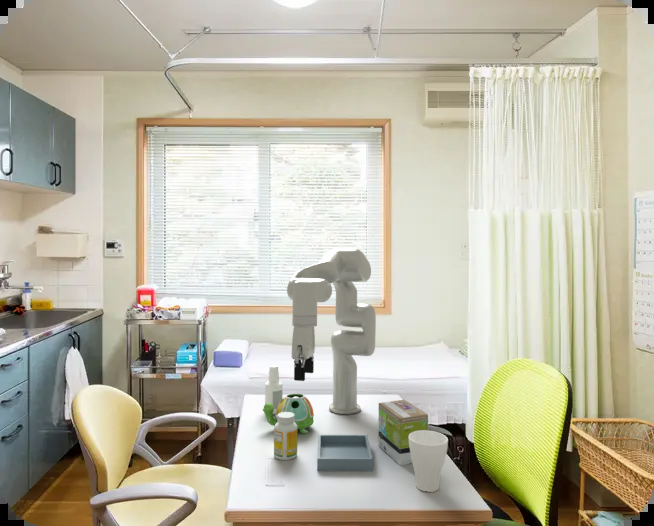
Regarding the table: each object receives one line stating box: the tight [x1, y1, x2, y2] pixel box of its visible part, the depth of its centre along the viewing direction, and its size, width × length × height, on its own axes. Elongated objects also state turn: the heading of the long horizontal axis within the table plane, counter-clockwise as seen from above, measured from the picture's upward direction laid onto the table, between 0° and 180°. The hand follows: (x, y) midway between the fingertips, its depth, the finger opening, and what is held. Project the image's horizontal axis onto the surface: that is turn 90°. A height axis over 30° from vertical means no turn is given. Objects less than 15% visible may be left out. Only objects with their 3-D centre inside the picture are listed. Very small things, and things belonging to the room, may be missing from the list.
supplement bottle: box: [273, 412, 298, 461], centre depth 150 cm, size 7×7×13 cm
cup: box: [409, 429, 449, 493], centre depth 131 cm, size 10×10×14 cm
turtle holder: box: [262, 393, 315, 434], centre depth 172 cm, size 12×18×12 cm
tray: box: [316, 434, 374, 472], centre depth 149 cm, size 18×16×4 cm
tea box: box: [378, 399, 429, 466], centre depth 152 cm, size 15×10×15 cm
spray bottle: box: [264, 364, 283, 415], centre depth 190 cm, size 7×7×18 cm
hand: (304, 376), depth 148 cm, fingers open, 9 cm apart
